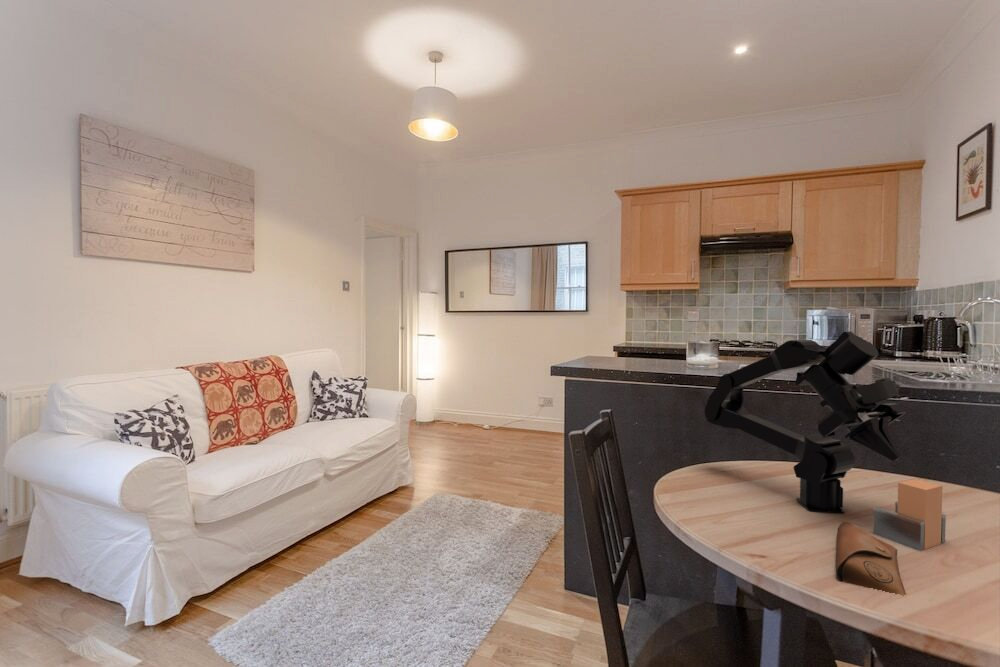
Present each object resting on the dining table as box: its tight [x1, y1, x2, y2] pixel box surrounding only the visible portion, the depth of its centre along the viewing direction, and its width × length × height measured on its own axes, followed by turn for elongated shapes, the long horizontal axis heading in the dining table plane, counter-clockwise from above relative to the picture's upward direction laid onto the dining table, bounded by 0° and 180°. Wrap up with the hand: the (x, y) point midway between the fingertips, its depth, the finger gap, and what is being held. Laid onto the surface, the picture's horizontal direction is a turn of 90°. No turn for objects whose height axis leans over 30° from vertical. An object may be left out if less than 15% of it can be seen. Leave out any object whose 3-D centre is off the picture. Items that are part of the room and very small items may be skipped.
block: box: [897, 478, 943, 550], centre depth 83 cm, size 4×5×10 cm
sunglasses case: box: [835, 520, 907, 597], centre depth 76 cm, size 18×7×7 cm
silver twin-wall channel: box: [872, 500, 947, 552], centre depth 84 cm, size 7×8×5 cm
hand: (896, 459), depth 86 cm, fingers closed
